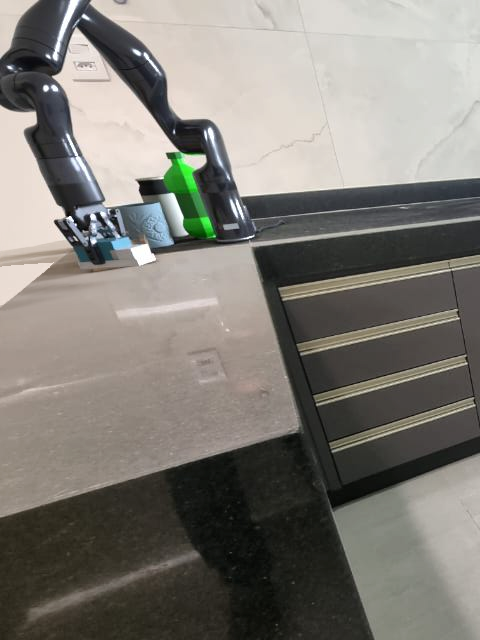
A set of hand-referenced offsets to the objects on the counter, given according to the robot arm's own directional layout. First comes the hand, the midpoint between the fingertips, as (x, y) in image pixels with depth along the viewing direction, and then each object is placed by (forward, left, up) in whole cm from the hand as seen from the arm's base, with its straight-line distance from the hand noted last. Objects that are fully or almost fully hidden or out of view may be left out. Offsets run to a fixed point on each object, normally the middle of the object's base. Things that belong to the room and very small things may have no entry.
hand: (110, 260), depth 117 cm
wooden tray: (-20, -20, -5) cm, 29 cm away
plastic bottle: (-50, -23, -5) cm, 56 cm away
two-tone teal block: (0, +2, -1) cm, 2 cm away
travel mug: (-53, -37, -5) cm, 65 cm away
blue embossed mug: (-39, -30, -5) cm, 50 cm away
